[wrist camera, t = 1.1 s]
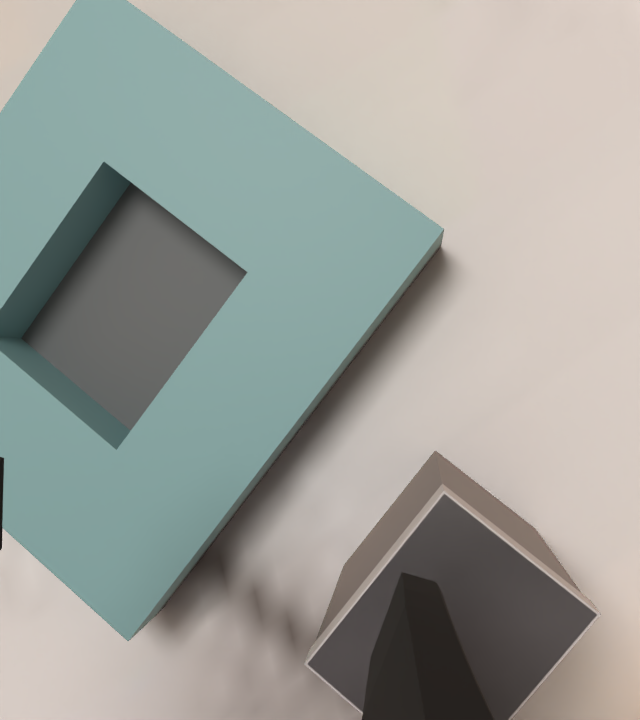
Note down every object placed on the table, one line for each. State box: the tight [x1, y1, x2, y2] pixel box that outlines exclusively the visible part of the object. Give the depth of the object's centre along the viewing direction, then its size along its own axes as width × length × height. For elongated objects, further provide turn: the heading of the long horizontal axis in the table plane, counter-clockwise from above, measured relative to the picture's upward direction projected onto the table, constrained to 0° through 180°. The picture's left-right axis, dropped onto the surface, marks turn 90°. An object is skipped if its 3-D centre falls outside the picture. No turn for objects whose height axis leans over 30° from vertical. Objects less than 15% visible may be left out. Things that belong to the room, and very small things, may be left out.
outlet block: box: [0, 0, 444, 641], centre depth 21 cm, size 14×16×2 cm
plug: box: [304, 451, 601, 720], centre depth 17 cm, size 4×5×7 cm
